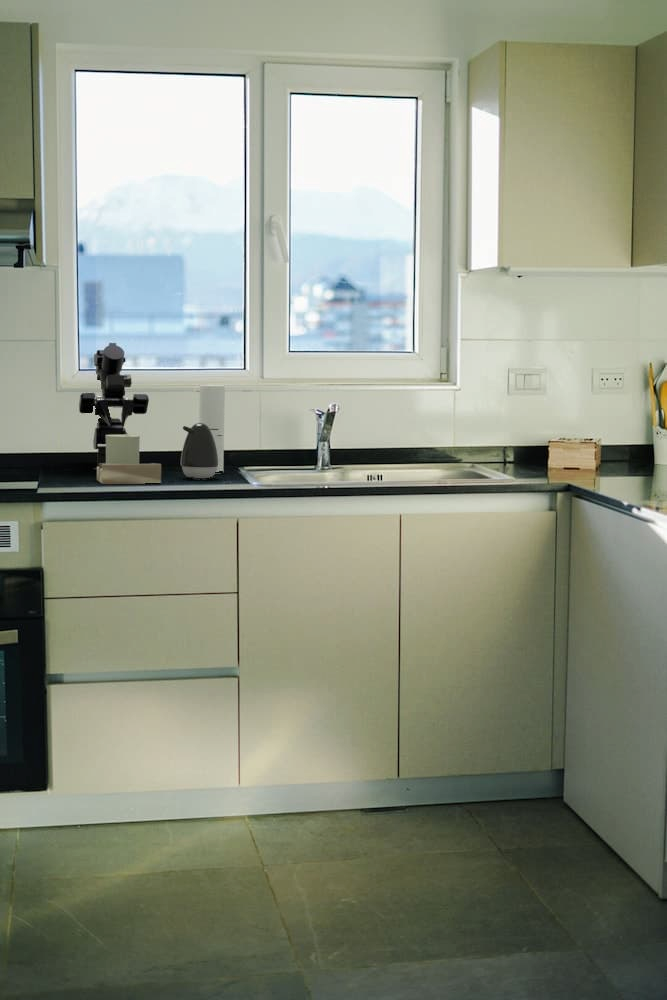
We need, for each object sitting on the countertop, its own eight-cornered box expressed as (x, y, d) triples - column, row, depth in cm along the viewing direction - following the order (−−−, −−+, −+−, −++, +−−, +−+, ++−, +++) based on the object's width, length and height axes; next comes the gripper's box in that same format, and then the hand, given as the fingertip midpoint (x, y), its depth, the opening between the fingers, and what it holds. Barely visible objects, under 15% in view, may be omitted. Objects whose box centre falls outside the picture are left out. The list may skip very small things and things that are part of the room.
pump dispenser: (172, 477, 334) (173, 422, 332) (204, 476, 341) (205, 421, 339) (192, 481, 326) (193, 424, 325) (225, 479, 333) (226, 423, 331)
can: (115, 480, 322) (116, 435, 321) (98, 477, 329) (98, 433, 328) (146, 479, 328) (146, 434, 327) (128, 476, 335) (129, 432, 334)
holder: (96, 480, 322) (96, 461, 321) (153, 479, 327) (153, 461, 326) (102, 484, 312) (102, 464, 311) (161, 483, 317) (161, 464, 316)
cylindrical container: (195, 471, 356) (196, 385, 353) (218, 471, 359) (219, 385, 356) (203, 473, 349) (204, 385, 346) (226, 473, 352) (228, 386, 349)
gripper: (80, 363, 337) (85, 405, 327) (147, 365, 343) (154, 406, 333) (76, 391, 345) (81, 433, 336) (142, 392, 351) (149, 433, 342)
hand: (117, 425), depth 336 cm, fingers open, 3 cm apart
